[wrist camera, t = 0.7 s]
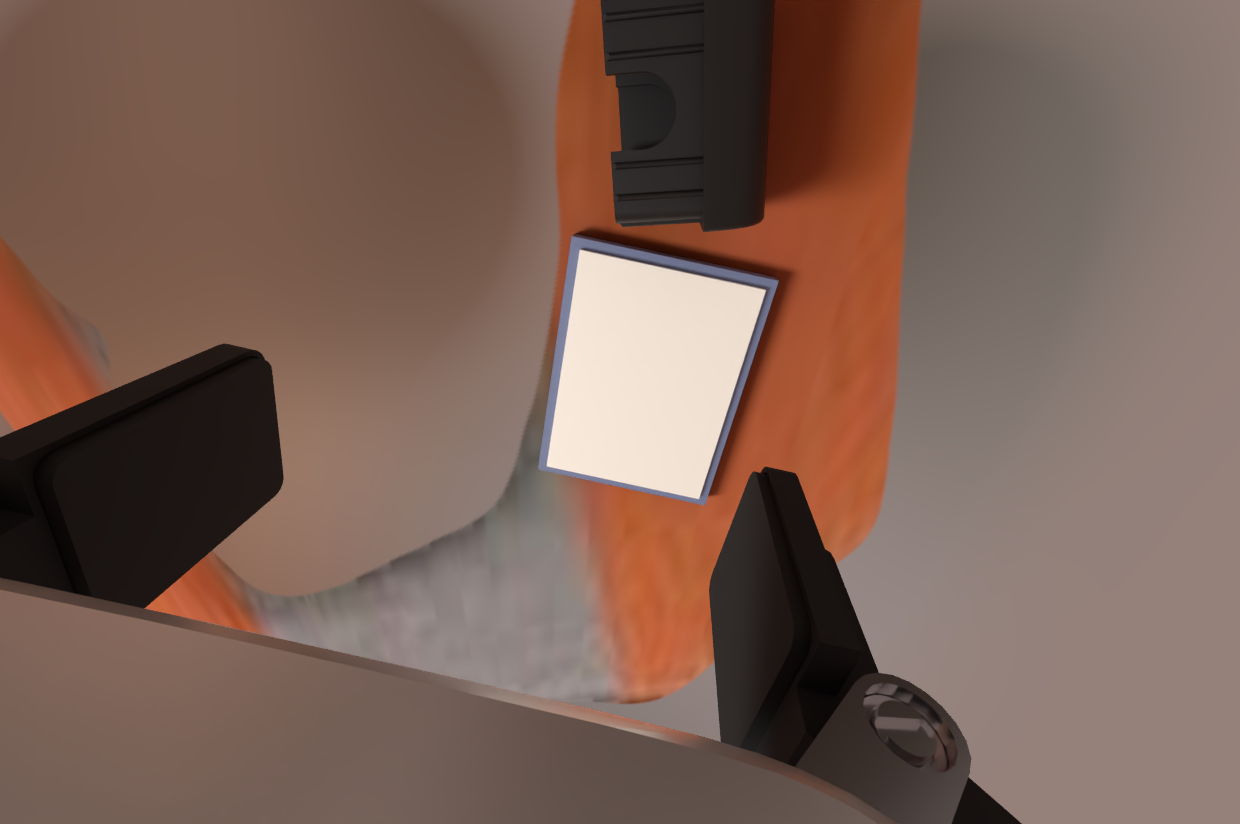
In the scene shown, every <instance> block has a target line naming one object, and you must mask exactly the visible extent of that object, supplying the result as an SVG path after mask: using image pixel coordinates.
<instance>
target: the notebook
mask: <svg viewBox="0 0 1240 824" xmlns="http://www.w3.org/2000/svg"><path fill="white" fill-rule="evenodd" d="M778 282H779V280H778V279H777V278H776V277H772V276H768V275H763V274H759V273H754V272H749V271H745V270H740V269H736V268H731V267H726V266H722V265H717V264H712V263H708V262H703V261H699V260H694V259H689V258H685V257H680V256H675V255H671V254H666V253H662V252H657V251H652V250H648V249H643V248H639V247H634V246H629V245H625V244H620V243H615V242H611V241H606V240H602V239H597V238H592V237H588V236H583V235H578V234H574V235H573V236H572V238H571V245H570V252H569V259H568V266H567V273H566V280H565V287H564V294H563V301H562V307H561V314H560V321H559V328H558V335H557V342H556V349H555V356H554V363H553V369H552V376H551V383H550V390H549V397H548V404H547V411H546V418H545V425H544V432H543V438H542V445H541V452H540V459H539V466H538V469H539V470H543V471H548V472H553V473H557V474H562V475H567V476H571V477H576V478H581V479H585V480H590V481H594V482H599V483H604V484H608V485H613V486H618V487H622V488H627V489H632V490H636V491H641V492H645V493H650V494H655V495H659V496H664V497H669V498H673V499H678V500H683V501H687V502H692V503H696V504H701V505H705V504H706V501H707V498H708V494H709V491H710V488H711V485H712V482H713V479H714V476H715V473H716V470H717V467H718V464H719V461H720V458H721V455H722V452H723V449H724V446H725V443H726V440H727V437H728V434H729V431H730V428H731V425H732V422H733V419H734V416H735V413H736V410H737V406H738V403H739V400H740V397H741V394H742V391H743V388H744V385H745V382H746V379H747V376H748V373H749V370H750V367H751V364H752V361H753V358H754V355H755V352H756V349H757V346H758V343H759V340H760V337H761V334H762V331H763V328H764V325H765V321H766V318H767V315H768V312H769V309H770V306H771V303H772V300H773V297H774V294H775V291H776V288H777V285H778Z"/></svg>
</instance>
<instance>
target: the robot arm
mask: <svg viewBox="0 0 1240 824" xmlns="http://www.w3.org/2000/svg"><path fill="white" fill-rule="evenodd" d="M282 484H283V467H282V458H281V449H280V439H279V430H278V422H277V412H276V403H275V394H274V384H273V375H272V369H271V365H270V364H269V362H267V361H266V360H265V359H264V357H263V355H262V354H261V353H260V352H258V351H256V350H251V349H247V348H243V347H238V346H234V345H230V344H221V345H218V346H215V347H213V348H211V349H208V350H206V351H204V352H201V353H199V354H196V355H194V356H192V357H190V358H187V359H185V360H182V361H180V362H177V363H175V364H173V365H171V366H168V367H166V368H163V369H161V370H159V371H156V372H154V373H151V374H149V375H147V376H144V377H142V378H140V379H137V380H135V381H133V382H130V383H128V384H125V385H123V386H121V387H118V388H116V389H114V390H111V391H109V392H107V393H104V394H102V395H99V396H97V397H95V398H92V399H90V400H88V401H85V402H83V403H81V404H78V405H76V406H73V407H71V408H69V409H66V410H64V411H62V412H59V413H57V414H55V415H52V416H50V417H47V418H45V419H43V420H40V421H38V422H36V423H33V424H31V425H29V426H26V427H24V428H21V429H19V430H17V431H14V432H12V433H10V434H7V435H5V436H3V437H0V824H1021V823H1020V822H1019V821H1018V820H1017V819H1016V818H1015V817H1013V816H1012V815H1011V814H1010V813H1009V812H1008V811H1007V810H1005V809H1004V808H1003V807H1002V806H1001V805H1000V804H999V803H997V802H996V801H995V800H994V799H993V798H992V797H991V796H989V795H988V794H987V793H985V791H984V790H982V789H981V788H980V787H979V786H978V785H977V784H976V783H974V782H973V781H972V780H971V779H970V778H969V773H970V766H971V756H970V752H969V749H968V746H967V742H966V740H965V738H964V736H963V734H962V732H961V731H960V729H959V727H958V725H957V724H956V722H955V721H954V720H953V719H952V718H951V716H950V715H949V714H948V713H947V712H946V710H945V709H944V708H943V707H942V706H941V705H940V704H939V703H938V702H937V701H935V700H934V699H933V698H932V697H931V696H930V695H929V694H927V693H926V692H925V691H923V690H922V689H920V688H918V687H917V686H915V685H914V684H912V683H910V682H909V681H906V680H904V679H901V678H899V677H896V676H894V675H890V674H883V673H879V672H878V669H877V667H876V664H875V662H874V659H873V657H872V654H871V652H870V649H869V647H868V644H867V642H866V639H865V637H864V634H863V631H862V629H861V626H860V624H859V621H858V619H857V616H856V613H855V611H854V608H853V606H852V603H851V601H850V598H849V595H848V593H847V590H846V588H845V586H844V583H843V580H842V578H841V575H840V573H839V570H838V568H837V565H836V562H835V560H834V558H833V556H832V554H831V553H830V552H829V551H827V550H825V548H824V545H823V543H822V540H821V537H820V535H819V532H818V530H817V527H816V524H815V522H814V519H813V516H812V514H811V511H810V508H809V506H808V503H807V500H806V498H805V495H804V492H803V490H802V487H801V485H800V482H799V479H798V477H797V475H796V474H795V473H792V472H788V471H783V470H779V469H774V468H770V467H765V468H763V470H762V471H761V473H758V472H752V474H751V475H750V477H749V480H748V482H747V485H746V487H745V490H744V493H743V495H742V498H741V500H740V503H739V506H738V508H737V511H736V513H735V516H734V519H733V521H732V524H731V526H730V529H729V532H728V534H727V537H726V539H725V542H724V544H723V547H722V550H721V552H720V555H719V557H718V560H717V563H716V565H715V568H714V570H713V573H712V576H711V580H710V588H709V596H710V608H711V621H712V634H713V647H714V660H715V672H716V685H717V698H718V711H719V723H720V736H721V742H719V741H715V740H712V739H708V738H705V737H702V736H698V735H694V734H689V733H685V732H681V731H678V730H674V729H669V728H665V727H661V726H657V725H653V724H649V723H645V722H641V721H637V720H633V719H629V718H625V717H621V716H617V715H613V714H609V713H605V712H601V711H596V710H593V709H588V708H584V707H580V706H575V705H570V704H567V703H562V702H558V701H554V700H549V699H545V698H540V697H536V696H532V695H527V694H523V693H519V692H514V691H510V690H506V689H501V688H497V687H492V686H488V685H484V684H479V683H475V682H471V681H466V680H462V679H458V678H453V677H449V676H444V675H440V674H436V673H431V672H427V671H423V670H418V669H414V668H409V667H405V666H400V665H396V664H392V663H387V662H383V661H378V660H374V659H369V658H365V657H360V656H356V655H351V654H347V653H342V652H338V651H334V650H329V649H325V648H320V647H316V646H311V645H307V644H302V643H298V642H293V641H289V640H284V639H280V638H275V637H271V636H266V635H262V634H257V633H253V632H248V631H244V630H239V629H235V628H230V627H226V626H221V625H217V624H212V623H208V622H203V621H199V620H194V619H189V618H185V617H180V616H176V615H171V614H166V613H162V612H157V611H153V610H148V609H144V608H145V607H147V606H148V605H149V604H150V603H151V602H152V601H154V600H155V599H156V598H157V597H158V596H159V595H161V594H162V593H163V592H164V591H165V590H166V589H167V588H169V587H170V586H171V585H172V584H173V583H174V582H176V581H177V580H178V579H179V578H180V577H181V576H183V575H184V574H185V573H186V572H187V571H188V570H190V569H191V568H192V567H193V566H194V565H195V564H197V563H198V562H199V561H200V560H201V559H202V558H204V557H205V556H206V555H207V554H208V553H209V552H211V551H212V550H213V549H214V548H215V547H216V546H217V545H218V544H220V543H221V542H222V541H223V540H224V539H226V538H227V537H228V536H229V535H230V534H231V533H233V532H234V531H235V530H236V529H237V528H238V527H239V526H241V525H242V524H243V523H244V522H245V521H246V520H248V519H249V518H250V517H251V516H252V515H253V514H255V513H256V512H257V511H258V510H259V509H260V508H262V507H263V506H264V505H265V504H266V503H267V502H268V501H270V500H271V499H272V498H273V497H274V496H275V495H276V494H277V493H278V492H279V490H280V489H281V486H282Z"/></svg>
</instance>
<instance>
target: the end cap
mask: <svg viewBox="0 0 1240 824" xmlns="http://www.w3.org/2000/svg"><path fill="white" fill-rule="evenodd" d="M774 6H775V0H601V11H602V26H603V41H604V56H605V72H606V75H607V76H611V75H615V76H616V87H617V88H618V93H619V110H620V128H621V145H622V151H617V152H611V163H612V178H613V193H614V208H615V219H616V223H620V224H621V225H622V226H623V227H630V226H648V225H665V224H682V223H699V222H700V224H701V227H702V230H703V232H710V231H721V230H730V229H738V228H744V227H749V226H753V225H756V224H758V223H760V222H761V221H762V220H763V218H764V206H765V186H766V166H767V146H768V126H769V106H770V86H771V66H772V46H773V26H774Z"/></svg>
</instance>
